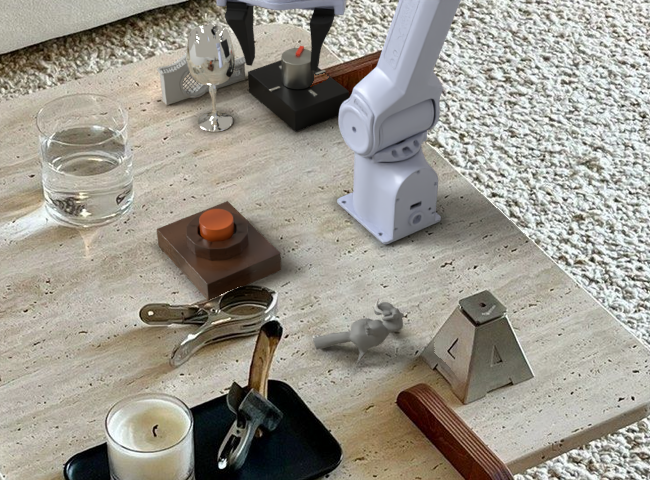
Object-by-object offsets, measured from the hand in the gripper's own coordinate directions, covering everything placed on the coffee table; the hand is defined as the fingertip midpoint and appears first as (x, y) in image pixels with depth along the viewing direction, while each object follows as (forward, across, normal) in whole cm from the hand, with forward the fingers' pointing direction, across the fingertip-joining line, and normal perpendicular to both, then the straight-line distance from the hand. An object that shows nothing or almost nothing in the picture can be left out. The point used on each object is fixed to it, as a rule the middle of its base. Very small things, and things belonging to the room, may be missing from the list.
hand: (282, 63), depth 139 cm
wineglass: (+10, +9, -1) cm, 13 cm away
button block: (+9, +3, +25) cm, 27 cm away
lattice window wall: (+10, +12, -7) cm, 17 cm away
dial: (+6, -1, -7) cm, 9 cm away
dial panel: (+9, -1, -7) cm, 11 cm away
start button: (+6, +3, +25) cm, 26 cm away
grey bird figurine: (+10, -14, +38) cm, 42 cm away
